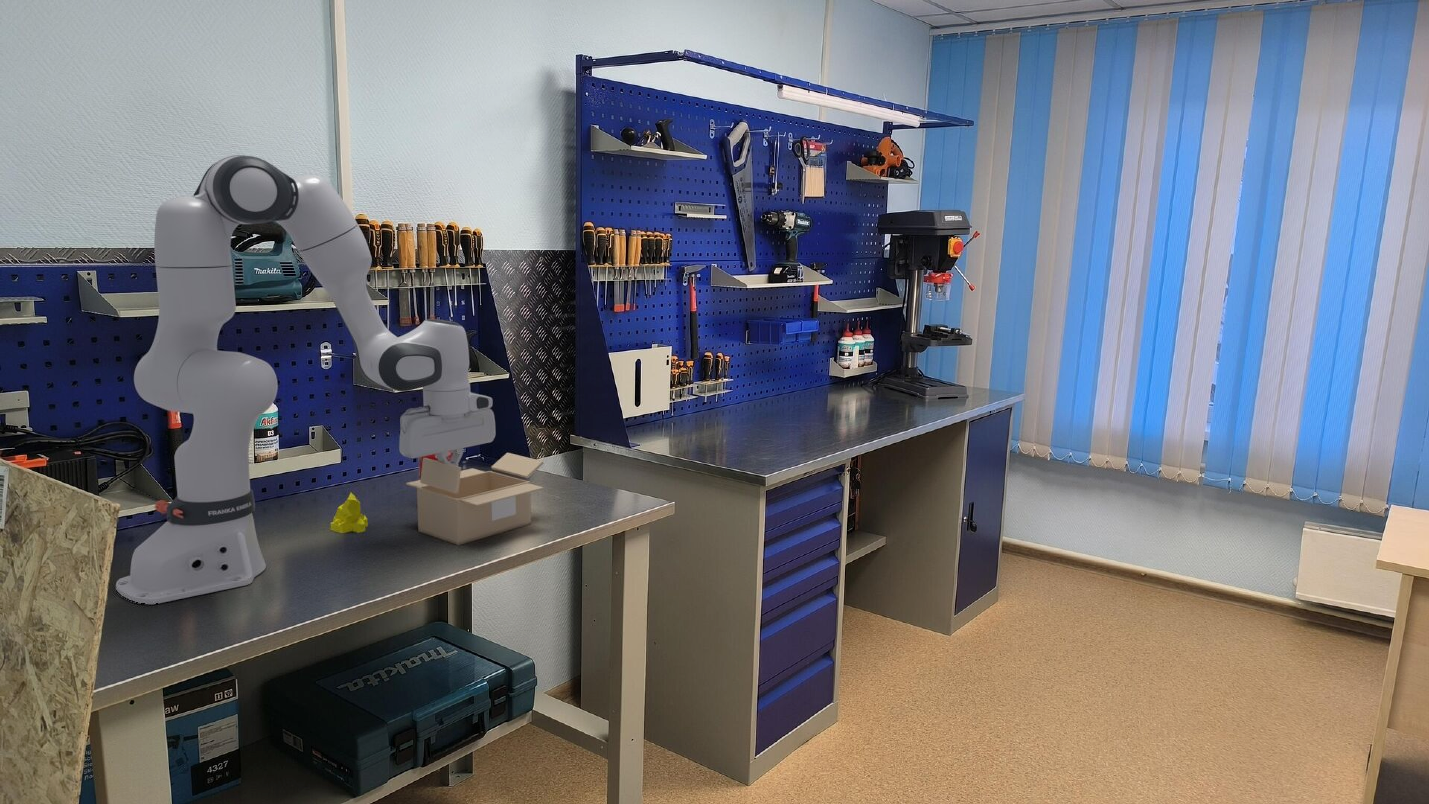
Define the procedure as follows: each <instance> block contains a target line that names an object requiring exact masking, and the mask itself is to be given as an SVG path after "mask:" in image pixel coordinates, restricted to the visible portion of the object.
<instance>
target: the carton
mask: <svg viewBox="0 0 1429 804" xmlns="http://www.w3.org/2000/svg"><path fill="white" fill-rule="evenodd" d="M405 485H406V486H410V487H412V488H416V503H417V527H418V532H419V533H423V534H426V535H427V536H428V535H429V536H432V537H434V538H437V539H440V540H442V541H445V542H449V543H452V544H453V545H454V544H455V545H457V546H461V545H463V544H467V543H470V542H474V541H477V540H481V539H484V538H489V537H492V536H495V535H498V534H503V533H505V532H508V531H511V530H516V529H519V528H521V527H525V526H528V525H531V524H532V511H531V510H532V502H531V501H532V500H531V497H532V496H531V495H532V492H536V491H541V490H544V486H541V485H540V486H539V485H536V484H532V483H531V481H529V480H526V479H521V478H518V477H515V476H510V475H507V474H504V473H503V474H502V473H499V472H497V471H492V470H488V471H485V470H479V469H477V468H473V467H472V468H468V469H464V470H461V474H460V483H459V491H458V493H452V492H449V491H446V490H442V489H439V488H436V487H432V486H429V485H426V484H422V483H420V480H419V479H418V480H415V481H409V482H406V483H405Z"/></svg>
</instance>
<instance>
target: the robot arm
mask: <svg viewBox="0 0 1429 804" xmlns="http://www.w3.org/2000/svg"><path fill="white" fill-rule="evenodd" d="M331 184H332V183H330V182H329V181H328V180H327V179H326V178H325V177H323V176H321V175H319V174H312V173H305V174H300V175H296V176H294V177H291V176H290V175H288V174H286V173H285V172H284V171H282V170H280V169H279V168H278V167H277V166H274V165H273V164H272V163H270V162H268V161H267V160H264V159H263V158H260V157H257V156H252V155H244V154H241V155H240V154H234V155H229V156H226V157H223V158H222V159H218V161H216V162H215V163H213V164H212V165H211V166H210V167H209V168H207V170H206V171H205V172H204V174H203V177H202V179H201V180H200V182H199V184H198V186H197V188H196V190H195V191H194V193H193V195H187V196H186V195H185V196H184V195H183V196H176V197H173V198H169V199H167V200H166V201H165V202H163V203H162V204H161V205H160V206H159V207H158V209H157V212H156V215H155V216H156V217H155V224H154V239H153V242H154V248H153V249H154V263H155V273H156V285H157V297H158V321H157V326H156V327H157V328H156V331H155V335H154V339H153V342H152V343H151V344H152V345H151V346H150V349H149V350H148V352H147V353H145V354H144V355H143V356H142V357H141V359H140V360H139V361H138V363H137V365H136V366H135V370H134V374H133V383H134V387H135V390H136V392H137V394H138V395H139V397H140V398H141V399H142V400H144V401H145V402H147V403H149V404H151V405H153V406H156V407H157V408H158V407H159V408H161V409H163V410H166V411H168V412H177V413H184V414H185V413H186V414H192V415H193V416H192V417H193V424H192V429H191V433H190V436H189V437H188V439H187V440H185V441H184V442H183V443H182V444H180V445H179V446H178V447H177V449H176V450H175V454H174V456H173V457H174V458H173V459H174V468H175V470H174V471H175V482H176V491H177V492H176V493H177V495H176V496H175V498H174V499H173V500H172V501H171V502H168V501H166V500H163V499H160V500H158V501H156V503H155V504H154V510H155V511H157V512H159V513H161V514H162V515H164V514H166V520H167V521H166V522H164V523H163V524H162V526H160V527H159V528H158V529H157V530H155V532H153V533H152V534H151V535H150V536H149V537H148V538H147V539H145V540H144V541H143V542H142V543H140V544H139V545H138V546H137V547H136V548H135V549H134V550H133V553H132V557H131V561H130V562H131V563H130V572H129V573H130V574H129V575H127V576H124V577H121V578H119V579H118V580H117V581H116V582H115V583H116V584H115V591H116V590H117V591H118V592H119V593H120V594H121V595H122V596H124V597H126V598H128V599H129V600H133V601H135V602H134V603H136V602H138V603H137V604H141V603H145V604H144V605H156V603H158V604H162V603H163V604H164V603H166V602H171V601H176V600H180V599H186V598H190V597H191V598H192V597H194V596H195V597H196V596H201V595H205V594H210V593H214V592H219V591H224V590H230V589H233V588H238V587H239V588H240V587H243V586H247V585H250V584H251V583H253V581H254V579H255V577H257V576H258V575H260V574H261V573H263V572H264V571H265V569H266V568H267V564H266V561H265V559H264V557H263V553H262V550H261V548H260V545H259V541H258V537H257V536H258V535H257V532H256V528H255V527H256V526H255V521H254V520H255V518H256V512H255V511H256V503H255V498H254V496H255V495H254V490H253V489H252V488H251V482H250V480H251V479H250V476H251V475H250V459H249V458H250V457H249V455H250V454H249V453H250V452H249V451H250V443H251V437H252V435H253V431H254V428H255V426H256V423H257V422H258V421H259V419H260V418H261V416H262V415H263V414H265V412H267V410H269V408H271V406H272V405H273V403H274V402H275V399H276V397H277V394H278V386H279V385H278V379H277V374H276V373H275V370H274V368H273V367H272V366H271V365H270V363H268V362H267V361H265V360H263V359H260V358H258V357H255V356H252V355H249V354H247V353H244V352H243V353H242V352H240V351H239V352H238V351H228V350H227V351H226V350H225V351H224V350H218V340H219V339H218V338H219V334H220V331H221V329H222V327H223V325H224V324H225V323H227V322H228V321H230V319H232V318H233V317H234V315H235V313H236V309H237V305H236V303H237V302H236V294H235V282H234V273H233V272H234V271H233V270H234V269H233V260H232V252H231V245H232V243H231V242H232V237H233V236H232V235H233V233H234V231H235V230H236V228H237V227H238V226H239V225H257V224H258V225H259V224H266V223H271V222H276V223H278V224H279V225H280V226H281V227H282V228H283V229H284V230H285V232H286V233H287V235H288V236H290V238H291V240H292V243H293V244H294V246H295V248H296V249H297V251H298V253H299V255H300V257H301V258H302V260H303V261H304V263H305V264H306V266H307V268H308V269H309V270H310V272H311V273H312V275H313V276H314V277H315V278H316V280H317V281H318V282H319V284H320V285H321V286H322V288H323V289H324V290H325V291H326V293H327V294H328V295H329V297H330V299H331V300H332V302H333V304H334V305H335V308H336V310H337V311H338V313H339V315H340V317H341V318H342V319H341V320H342V321H343V322H344V325H345V326H346V330H348V333H349V334H350V336H351V338H352V342H353V345H354V346H353V347H354V354H355V362H356V366H357V367H356V368H357V370H358V372H359V373H360V375H361V376H362V377H363V378H364V379H365V380H366V381H367V382H369V383H371V384H372V385H373V384H374V385H376V386H383V387H385V388H386V389H390V390H392V391H396V392H409V391H413V390H418V389H420V388H421V389H422V398H423V406H419V407H414V408H413V407H412V408H408V409H406V411H405V412H404V413H403V414H402V415H401V416H400V419H399V420H400V421H399V422H400V432H399V443H398V444H399V445H398V446H399V447H398V448H399V453H400V454H401V455H402V456H403V457H405V458H408V459H419V458H418V457H422V456H427V455H432V454H436V457H437V458H438V460H439V461H440V462H442V463H446V464H450V465H454V466H457V467H459V463H460V461H461V459H462V456H463V454H464V448H470V447H475V446H479V445H484V444H487V443H488V444H489V443H492V442H493V441H494V439H495V437H496V420H495V414H494V411H493V410H492V409H491V408H492V407H493V398H492V397H490V396H487V395H484V394H479V393H476V392H473V391H471V383H470V381H469V376H468V375H469V374H468V373H469V367H470V352H469V351H470V350H469V343H468V337H467V333H466V330H465V327H463V326H462V325H461V324H460V323H459V322H455V321H451V320H450V321H449V320H445V319H444V320H443V319H439V318H427V319H424V321H423V322H422V323H421V324H420V325H419V326H417V327H415V328H414V329H412V330H411V331H409V332H407V333H405V334H402V335H400V336H396V335H395V334H394V333H392V331H390V330H389V329H388V328H387V327H386V326H385V323H384V322H383V321H382V318H381V316H380V314H379V312H378V310H377V308H376V306H375V304H374V302H373V300H372V298H371V296H370V294H369V292H368V289H367V275H368V274H369V272H370V269H371V266H372V261H373V260H372V259H373V258H372V255H371V251H370V248H369V245H368V243H367V240H366V238H365V236H364V233H363V231H362V230H361V228H360V226H359V224H358V222H357V220H356V219H355V217H354V215H353V214H352V212H351V210H350V209H349V207H348V205H347V204H346V203H345V201H344V200H343V198H342V197H341V195H340V194H339V193H338V192H337V190H336V189H335V188H334V187H333V185H331ZM448 451H451V453H452V457H451V460H450V462H448V460H447V458H446V457H447V456H448ZM122 596H121V597H122ZM129 600H128V601H129Z"/></svg>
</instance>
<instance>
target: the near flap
mask: <svg viewBox="0 0 1429 804" xmlns="http://www.w3.org/2000/svg"><path fill="white" fill-rule="evenodd" d="M461 471H462V467H461V466H458V467H457V466H454V465H450V464H446V463H442V462H439V461H435V460H432V459H428V458H423V463H422V472H421V480H420V483H422V484H426V485H429V486H432V487H436V488H439V489H442V490H446V491H449V492H452V493H458V491H459V483H460V474H461Z"/></svg>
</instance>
